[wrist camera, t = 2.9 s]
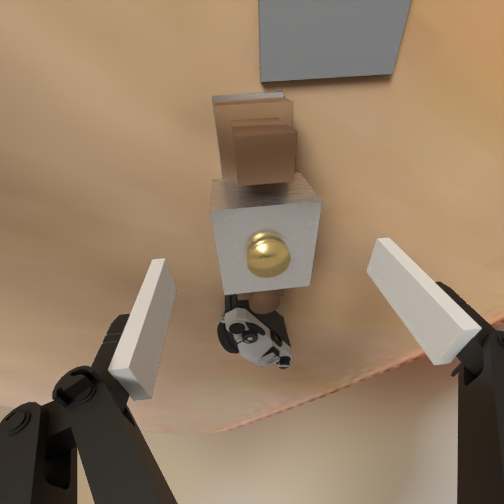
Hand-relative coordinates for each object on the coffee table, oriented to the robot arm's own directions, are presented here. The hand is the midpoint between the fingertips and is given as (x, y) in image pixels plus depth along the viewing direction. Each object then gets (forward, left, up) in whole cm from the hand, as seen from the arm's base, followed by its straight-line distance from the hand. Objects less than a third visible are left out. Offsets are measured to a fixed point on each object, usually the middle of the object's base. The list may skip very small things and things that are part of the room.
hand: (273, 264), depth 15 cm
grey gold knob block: (0, 0, -6) cm, 6 cm away
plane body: (0, -1, -10) cm, 10 cm away
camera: (-2, -17, -11) cm, 20 cm away
